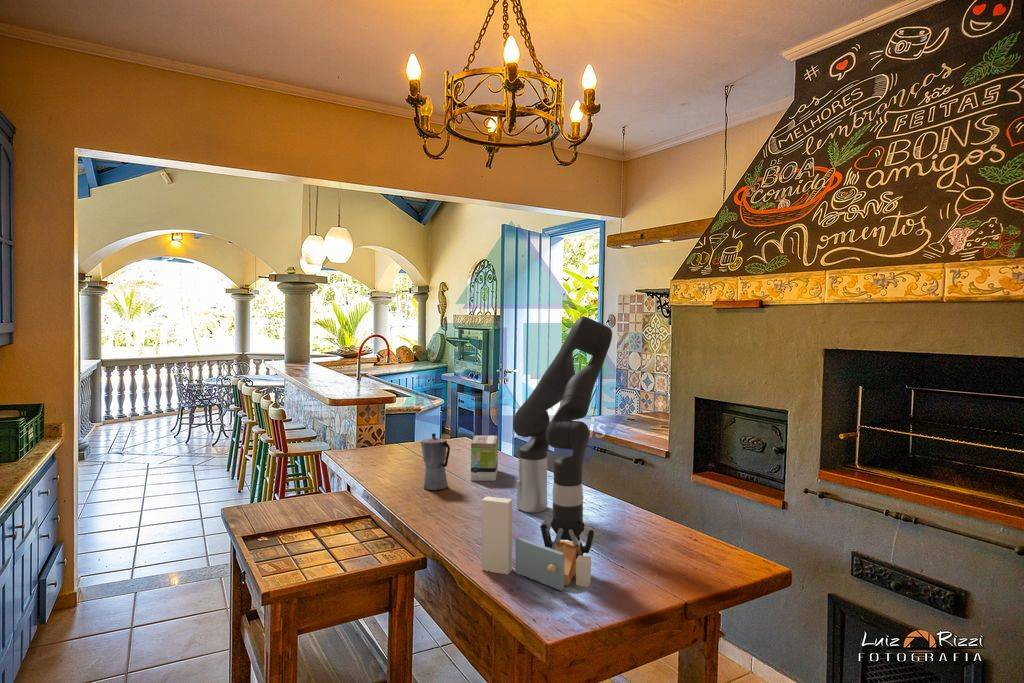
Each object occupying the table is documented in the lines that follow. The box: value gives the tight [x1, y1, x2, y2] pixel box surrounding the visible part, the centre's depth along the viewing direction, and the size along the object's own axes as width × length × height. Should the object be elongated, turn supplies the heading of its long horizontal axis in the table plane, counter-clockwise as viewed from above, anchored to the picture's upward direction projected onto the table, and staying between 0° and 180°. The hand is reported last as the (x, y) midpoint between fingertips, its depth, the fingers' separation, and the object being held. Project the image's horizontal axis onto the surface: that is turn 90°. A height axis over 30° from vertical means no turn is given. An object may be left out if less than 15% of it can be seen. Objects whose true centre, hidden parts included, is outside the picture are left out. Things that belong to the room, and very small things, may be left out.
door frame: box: [481, 496, 592, 588], centre depth 141 cm, size 27×3×18 cm, turn 71°
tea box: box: [470, 434, 499, 482], centre depth 227 cm, size 15×10×15 cm
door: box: [515, 537, 565, 591], centre depth 137 cm, size 14×3×8 cm, turn 48°
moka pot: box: [420, 432, 451, 491], centre depth 212 cm, size 10×15×20 cm, turn 51°
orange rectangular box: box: [555, 540, 577, 586], centre depth 141 cm, size 11×5×6 cm, turn 160°
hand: (567, 565), depth 145 cm, fingers closed on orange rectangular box, 5 cm apart
